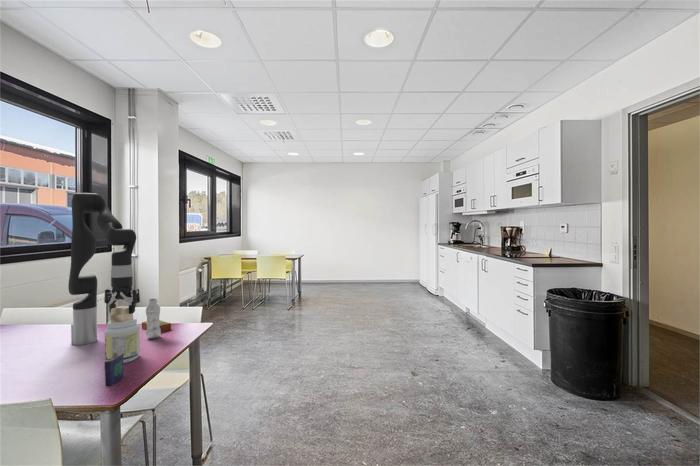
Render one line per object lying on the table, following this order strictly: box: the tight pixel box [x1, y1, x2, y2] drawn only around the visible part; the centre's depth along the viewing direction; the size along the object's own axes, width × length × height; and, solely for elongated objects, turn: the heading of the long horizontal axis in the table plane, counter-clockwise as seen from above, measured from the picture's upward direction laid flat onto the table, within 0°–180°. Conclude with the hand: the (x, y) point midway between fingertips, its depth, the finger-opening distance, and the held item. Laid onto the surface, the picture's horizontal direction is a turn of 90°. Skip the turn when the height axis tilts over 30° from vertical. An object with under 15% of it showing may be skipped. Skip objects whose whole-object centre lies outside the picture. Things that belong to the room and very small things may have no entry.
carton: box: [141, 319, 172, 333], centre depth 180 cm, size 8×16×4 cm, turn 57°
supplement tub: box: [104, 316, 141, 364], centre depth 138 cm, size 12×12×17 cm
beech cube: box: [110, 305, 134, 322], centre depth 137 cm, size 6×6×6 cm
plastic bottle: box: [145, 298, 162, 340], centre depth 165 cm, size 6×7×20 cm
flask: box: [104, 352, 125, 387], centre depth 118 cm, size 9×3×11 cm, turn 8°
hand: (122, 313), depth 138 cm, fingers open, 8 cm apart
